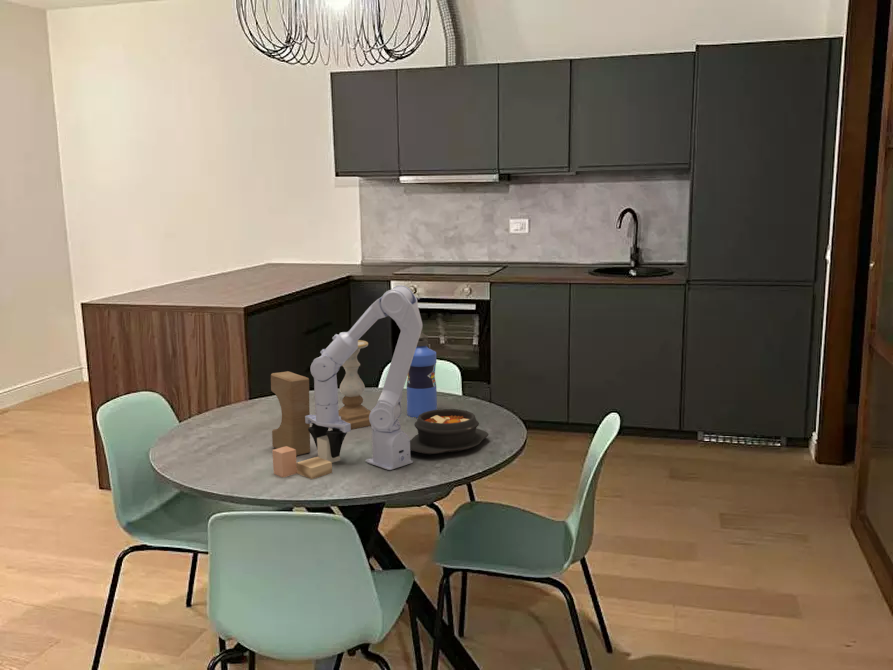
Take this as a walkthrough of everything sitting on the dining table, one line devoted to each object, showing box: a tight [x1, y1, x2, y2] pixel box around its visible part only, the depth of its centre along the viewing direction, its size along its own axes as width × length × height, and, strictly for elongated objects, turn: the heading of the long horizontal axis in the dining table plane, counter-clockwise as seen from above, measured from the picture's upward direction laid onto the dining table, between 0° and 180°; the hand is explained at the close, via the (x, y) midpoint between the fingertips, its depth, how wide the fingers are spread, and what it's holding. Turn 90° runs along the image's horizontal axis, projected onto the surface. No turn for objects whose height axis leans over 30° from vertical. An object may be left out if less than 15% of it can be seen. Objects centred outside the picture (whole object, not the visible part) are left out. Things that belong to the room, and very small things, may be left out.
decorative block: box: [270, 370, 311, 457], centre depth 211 cm, size 11×6×20 cm, turn 38°
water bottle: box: [406, 331, 438, 419], centre depth 243 cm, size 9×9×25 cm
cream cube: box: [316, 435, 341, 464], centre depth 204 cm, size 4×4×6 cm
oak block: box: [296, 456, 333, 480], centre depth 195 cm, size 6×6×3 cm
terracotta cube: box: [272, 446, 297, 478], centre depth 195 cm, size 4×4×6 cm
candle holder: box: [338, 339, 372, 431], centre depth 235 cm, size 11×11×24 cm
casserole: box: [410, 408, 489, 455], centre depth 213 cm, size 25×19×8 cm
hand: (329, 454), depth 204 cm, fingers closed on cream cube, 4 cm apart
